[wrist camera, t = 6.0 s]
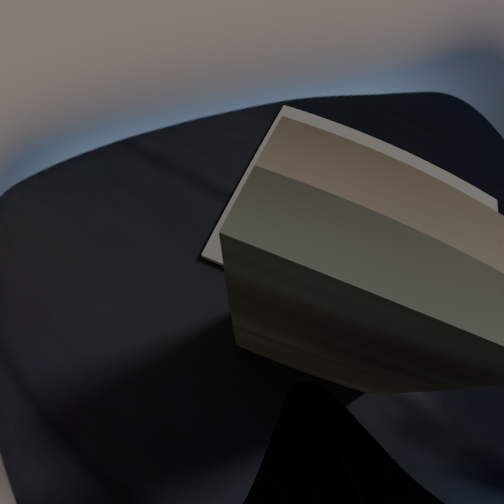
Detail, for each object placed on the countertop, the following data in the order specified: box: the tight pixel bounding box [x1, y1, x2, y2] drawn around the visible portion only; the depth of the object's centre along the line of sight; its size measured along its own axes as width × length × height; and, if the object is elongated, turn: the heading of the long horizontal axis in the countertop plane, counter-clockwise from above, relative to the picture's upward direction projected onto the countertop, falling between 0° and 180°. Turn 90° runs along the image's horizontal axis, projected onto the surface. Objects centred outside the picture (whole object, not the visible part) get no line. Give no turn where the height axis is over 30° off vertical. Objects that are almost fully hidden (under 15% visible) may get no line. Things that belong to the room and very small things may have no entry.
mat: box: [201, 105, 498, 266], centre depth 18 cm, size 13×18×1 cm
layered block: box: [219, 116, 504, 393], centre depth 10 cm, size 2×7×12 cm, turn 67°
